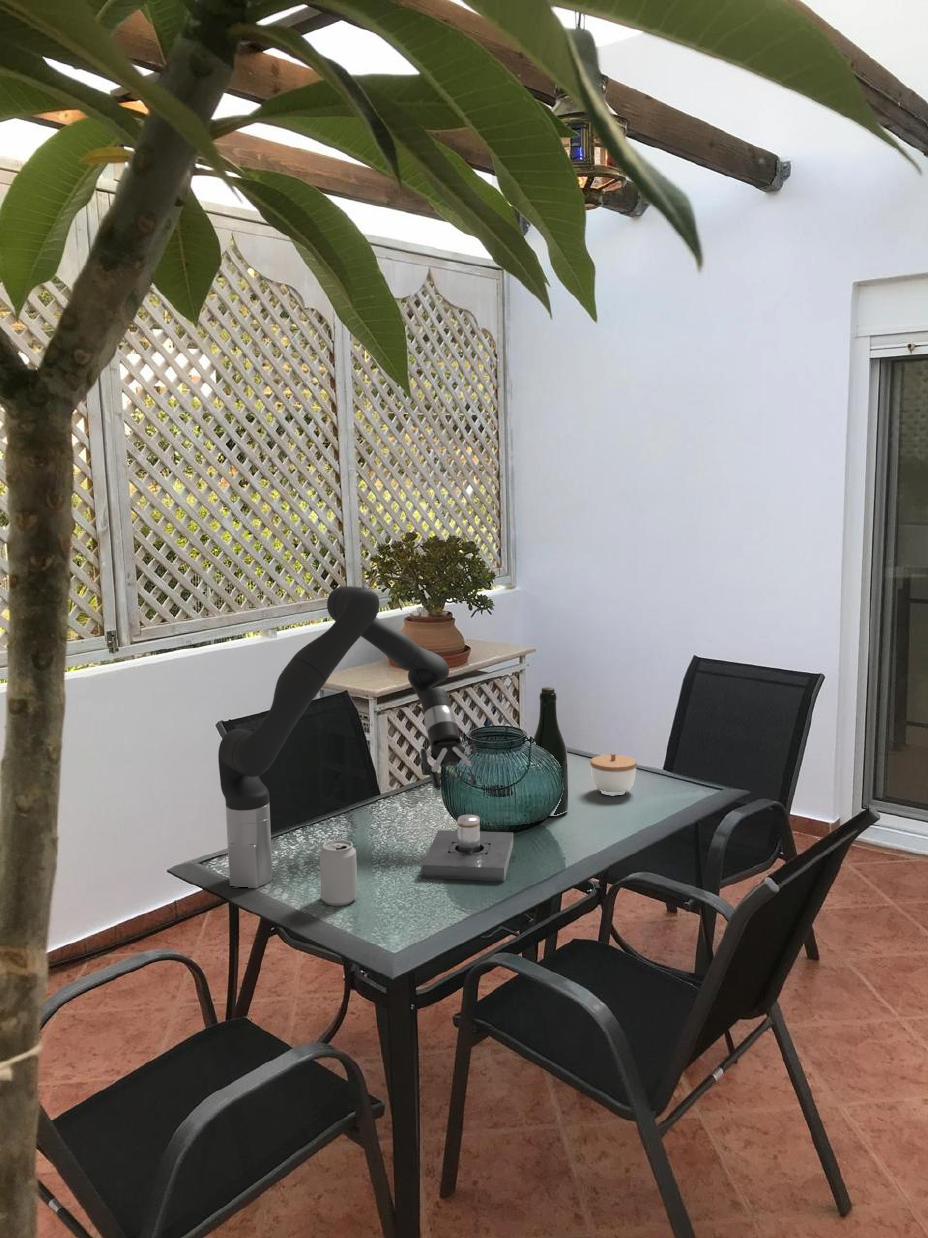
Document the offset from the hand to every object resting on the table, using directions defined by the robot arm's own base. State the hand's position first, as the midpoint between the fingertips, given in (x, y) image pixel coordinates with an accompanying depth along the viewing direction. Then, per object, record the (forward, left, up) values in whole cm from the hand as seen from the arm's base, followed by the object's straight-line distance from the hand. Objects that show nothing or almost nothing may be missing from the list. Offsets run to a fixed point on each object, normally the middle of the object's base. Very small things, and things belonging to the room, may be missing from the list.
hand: (456, 786), depth 227 cm
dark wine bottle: (+28, -20, -15) cm, 37 cm away
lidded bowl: (+46, -37, -15) cm, 61 cm away
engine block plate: (-8, -4, -15) cm, 17 cm away
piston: (-8, -4, -15) cm, 17 cm away
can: (-32, +20, -15) cm, 41 cm away
